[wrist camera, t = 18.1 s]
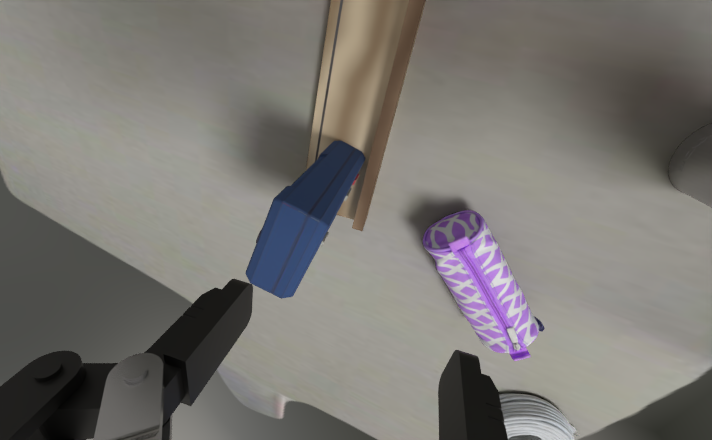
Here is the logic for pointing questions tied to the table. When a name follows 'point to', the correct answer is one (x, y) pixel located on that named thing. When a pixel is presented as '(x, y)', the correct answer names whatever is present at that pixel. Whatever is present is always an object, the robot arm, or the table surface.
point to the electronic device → (302, 220)
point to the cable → (534, 419)
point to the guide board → (363, 85)
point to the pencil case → (482, 283)
